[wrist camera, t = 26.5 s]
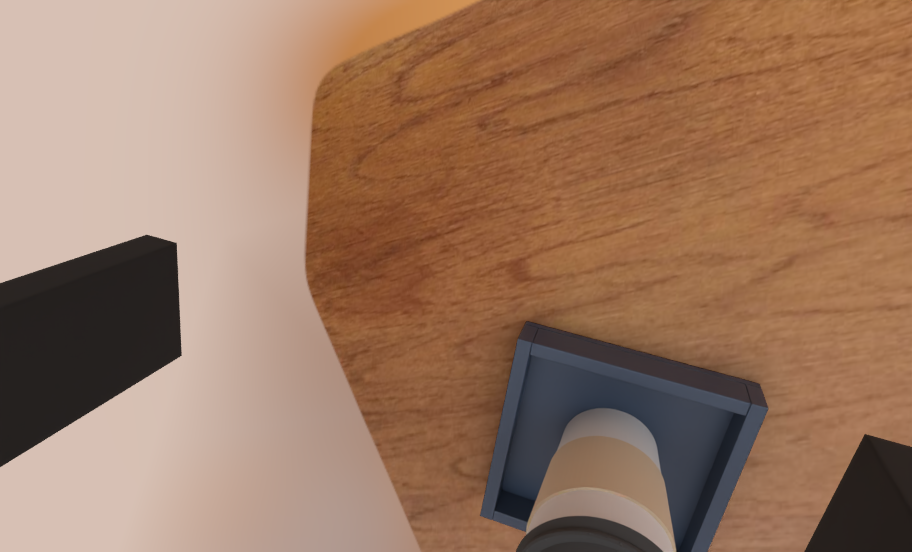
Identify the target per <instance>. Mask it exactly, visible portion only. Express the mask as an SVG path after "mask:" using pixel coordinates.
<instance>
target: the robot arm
mask: <svg viewBox="0 0 912 552" xmlns="http://www.w3.org/2000/svg"><path fill="white" fill-rule="evenodd" d="M180 334H181V333H180V310H179V288H178V266H177V244H176V243H174V242H171V241H167V240H164V239H160V238H157V237H153V236H149V235H145V236H142V237H139V238H136V239H133V240H130V241H127V242H124V243H121V244H117V245H115V246H111V247H109V248H106V249H102V250H100V251H96V252H93V253H90V254H87V255H84V256H81V257H79V258H75V259H72V260H69V261H66V262H63V263H60V264H57V265H54V266H51V267H48V268H45V269H42V270H39V271H36V272H33V273H30V274H27V275H24V276H21V277H18V278H15V279H12V280H9V281H6V282H3V283H0V467H1V466H3V465H4V464H6V463H8V462H9V461H11V460H12V459H14V458H16V457H17V456H19V455H21V454H22V453H24V452H26V451H27V450H29V449H30V448H32V447H34V446H35V445H37V444H38V443H40V442H42V441H43V440H45V439H47V438H48V437H50V436H52V435H53V434H55V433H56V432H58V431H60V430H61V429H63V428H64V427H66V426H68V425H69V424H71V423H73V422H74V421H76V420H77V419H79V418H81V417H82V416H84V415H86V414H87V413H89V412H90V411H92V410H94V409H95V408H97V407H98V406H100V405H102V404H104V403H105V402H107V401H108V400H110V399H112V398H113V397H115V396H117V395H118V394H120V393H122V392H123V391H125V390H126V389H128V388H130V387H131V386H133V385H135V384H136V383H138V382H139V381H141V380H143V379H144V378H146V377H148V376H149V375H151V374H152V373H154V372H156V371H157V370H159V369H161V368H162V367H164V366H165V365H167V364H169V363H170V362H172V361H173V360H175V359H177V358H178V357H180V356H181V335H180ZM805 552H912V447H910V446H906V445H902V444H899V443H895V442H891V441H888V440H884V439H881V438H877V437H873V436H870V435H866V434H865V435H864V437H863V439H862V441H861V443H860V445H859V447H858V449H857V451H856V453H855V455H854V456H853V458H852V460H851V462H850V464H849V466H848V468H847V470H846V472H845V474H844V476H843V478H842V480H841V482H840V484H839V486H838V488H837V489H836V491H835V493H834V495H833V497H832V499H831V501H830V503H829V505H828V507H827V509H826V511H825V513H824V515H823V517H822V519H821V521H820V522H819V524H818V526H817V528H816V530H815V532H814V534H813V536H812V538H811V540H810V542H809V544H808V546H807V548H806V550H805Z"/></svg>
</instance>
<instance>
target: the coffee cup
mask: <svg viewBox="0 0 912 552" xmlns="http://www.w3.org/2000/svg"><path fill="white" fill-rule="evenodd" d="M516 552H676V546H675V540H674V534H673V528H672V522H671V516H670V511H669V505H668V499H667V493H666V487H665V482H664V479H663V476H662V474H661V469H660V463H659V456H658V450H657V445H656V442H655V439H654V437H653V435H652V434H651V432H650V431H649V429H648V428H647V427H646V426H645V425H644V424H643V423H642V422H641V421H639V420H638V419H636V418H635V417H633V416H632V415H630V414H627V413H625V412H622V411H619V410H616V409H610V408H596V409H590V410H587V411H584V412H582V413H580V414H578V415H577V416H575V417H574V418H573V419H572V420H571V421H570V422H569V423H568V424H567V426H566V428H565V430H564V433H563V436H562V438H561V441H560V444H559V447H558V449H557V452H556V453H555V454H554V456H553V457H552V459H551V462H550V464H549V467H548V470H547V472H546V475H545V477H544V480H543V483H542V485H541V488H540V491H539V493H538V496H537V499H536V501H535V504H534V507H533V509H532V512H531V515H530V517H529V520H528V523H527V528H526V536H525V537H524V538H523V539H522V541H521V542H520V544H519V546H518V548H517V550H516Z"/></svg>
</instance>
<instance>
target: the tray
mask: <svg viewBox="0 0 912 552" xmlns="http://www.w3.org/2000/svg"><path fill="white" fill-rule="evenodd" d="M596 408H610V409H616V410H619V411H622V412H625V413H627V414H630V415H632V416H633V417H635V418H636V419H638V420H639V421H641V422H642V423H643V424H644V425H645V426H646V427H647V428H648V429H649V431H650V432H651V434H652V435H653V437H654V439H655V442H656V445H657V450H658V456H659V463H660V469H661V474H662V476H663V479H664V482H665V487H666V493H667V499H668V505H669V511H670V516H671V522H672V528H673V534H674V540H675V546H676V552H707V551H708V549H709V547H710V544H711V542H712V540H713V537H714V535H715V533H716V530H717V528H718V526H719V523H720V521H721V519H722V516H723V514H724V512H725V509H726V507H727V504H728V502H729V500H730V497H731V495H732V493H733V490H734V488H735V486H736V483H737V481H738V479H739V476H740V474H741V472H742V469H743V467H744V465H745V462H746V460H747V458H748V455H749V453H750V451H751V448H752V446H753V444H754V441H755V439H756V436H757V434H758V432H759V429H760V427H761V425H762V422H763V420H764V418H765V415H766V413H767V411H768V406H767V403H766V400H765V397H764V395H763V392H762V389H761V387H760V384H758V383H754V382H751V381H747V380H743V379H740V378H736V377H732V376H728V375H725V374H721V373H717V372H714V371H710V370H706V369H702V368H699V367H695V366H691V365H688V364H684V363H680V362H676V361H673V360H669V359H665V358H662V357H658V356H654V355H651V354H647V353H643V352H639V351H636V350H632V349H628V348H625V347H621V346H617V345H613V344H610V343H606V342H602V341H599V340H595V339H591V338H587V337H584V336H580V335H576V334H573V333H569V332H565V331H562V330H558V329H554V328H550V327H547V326H543V325H539V324H536V323H532V322H528V321H526V323H525V325H524V327H523V329H522V331H521V333H520V335H519V337H518V340H517V345H516V349H515V354H514V359H513V364H512V368H511V373H510V378H509V382H508V387H507V392H506V396H505V401H504V406H503V411H502V415H501V420H500V425H499V429H498V434H497V439H496V444H495V448H494V453H493V458H492V462H491V467H490V472H489V476H488V481H487V486H486V491H485V495H484V500H483V505H482V509H481V514H480V516H482V517H485V518H488V519H491V520H492V519H493V520H494V521H497V522H499V523H502V524H505V525H508V526H511V527H513V528H516V529H519V530H522V531H525V532H526V528H527V523H528V520H529V517H530V515H531V512H532V509H533V507H534V504H535V501H536V499H537V496H538V493H539V491H540V488H541V485H542V483H543V480H544V477H545V475H546V472H547V470H548V467H549V464H550V462H551V459H552V457H553V456H554V454H555V453H556V452H557V449H558V447H559V444H560V441H561V438H562V436H563V433H564V430H565V428H566V426H567V424H568V423H569V422H570V421H571V420H572V419H573V418H574V417H575V416H577V415H578V414H580V413H582V412H584V411H587V410H590V409H596Z"/></svg>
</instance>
